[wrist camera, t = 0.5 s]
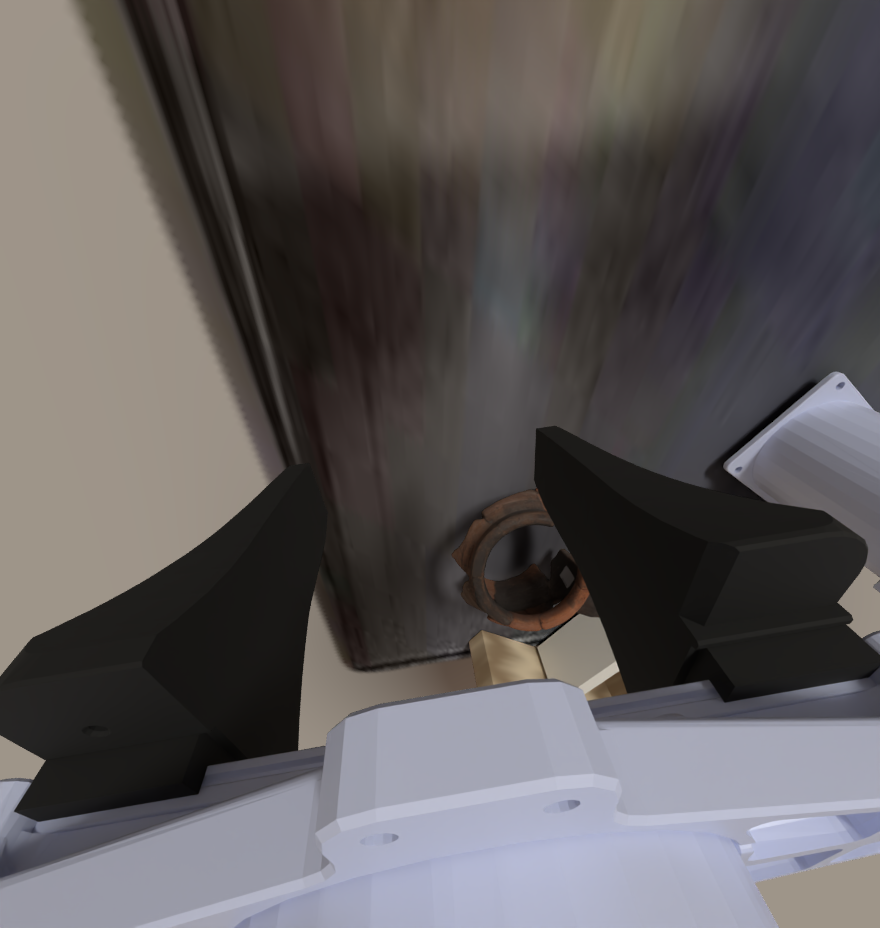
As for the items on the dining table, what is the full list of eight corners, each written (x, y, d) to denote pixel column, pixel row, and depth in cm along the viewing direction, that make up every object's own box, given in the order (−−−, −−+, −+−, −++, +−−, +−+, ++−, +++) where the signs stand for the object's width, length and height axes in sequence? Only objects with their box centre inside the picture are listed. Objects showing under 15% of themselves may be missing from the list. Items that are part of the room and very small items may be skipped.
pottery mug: (429, 574, 30) (435, 626, 22) (471, 461, 29) (492, 471, 21) (568, 620, 31) (623, 686, 23) (610, 512, 30) (681, 539, 22)
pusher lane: (775, 554, 33) (830, 603, 29) (594, 678, 42) (616, 729, 38) (652, 473, 26) (701, 522, 22) (468, 641, 35) (479, 698, 31)
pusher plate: (692, 537, 30) (740, 589, 26) (548, 650, 37) (567, 705, 33) (681, 531, 30) (728, 583, 25) (537, 647, 37) (555, 702, 32)
